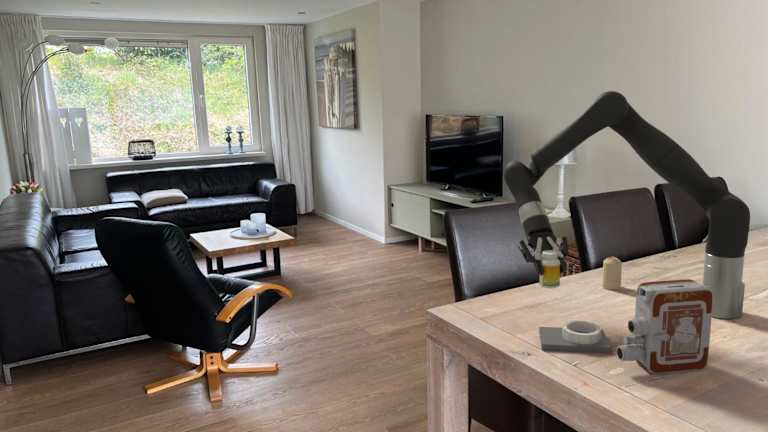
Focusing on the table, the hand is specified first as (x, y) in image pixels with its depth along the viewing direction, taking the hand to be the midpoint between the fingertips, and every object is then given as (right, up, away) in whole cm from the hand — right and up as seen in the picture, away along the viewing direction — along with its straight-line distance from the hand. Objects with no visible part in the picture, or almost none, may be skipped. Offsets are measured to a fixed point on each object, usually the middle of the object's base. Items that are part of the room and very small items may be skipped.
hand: (552, 272), depth 152 cm
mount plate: (+2, -17, -9) cm, 19 cm away
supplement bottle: (0, -4, +3) cm, 5 cm away
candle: (+28, -8, +30) cm, 42 cm away
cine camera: (+17, -19, -24) cm, 35 cm away
